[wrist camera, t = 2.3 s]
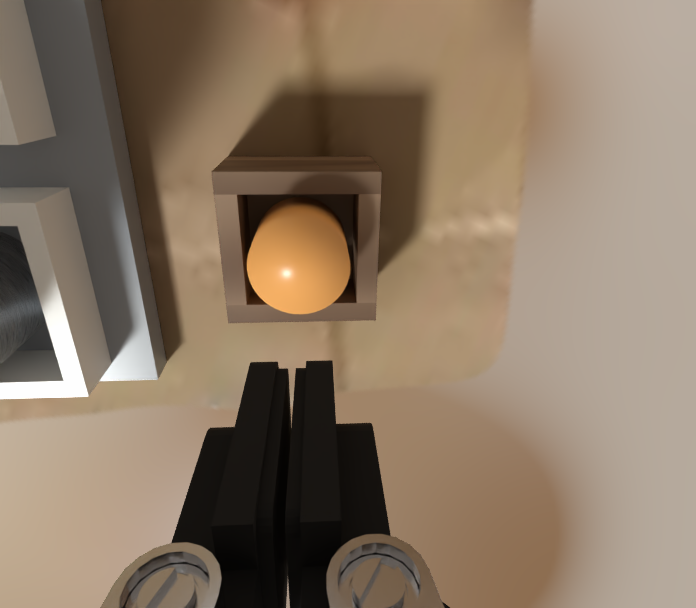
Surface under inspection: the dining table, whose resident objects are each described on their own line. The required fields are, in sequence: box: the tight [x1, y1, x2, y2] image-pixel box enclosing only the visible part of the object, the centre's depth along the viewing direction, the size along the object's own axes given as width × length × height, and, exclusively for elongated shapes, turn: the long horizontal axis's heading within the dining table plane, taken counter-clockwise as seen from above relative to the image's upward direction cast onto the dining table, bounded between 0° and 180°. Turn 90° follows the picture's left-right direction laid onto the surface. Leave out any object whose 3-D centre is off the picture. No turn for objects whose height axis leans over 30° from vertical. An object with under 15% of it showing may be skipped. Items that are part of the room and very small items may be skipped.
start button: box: [247, 197, 350, 314], centre depth 18 cm, size 4×4×3 cm
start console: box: [212, 156, 382, 323], centre depth 20 cm, size 6×6×4 cm
